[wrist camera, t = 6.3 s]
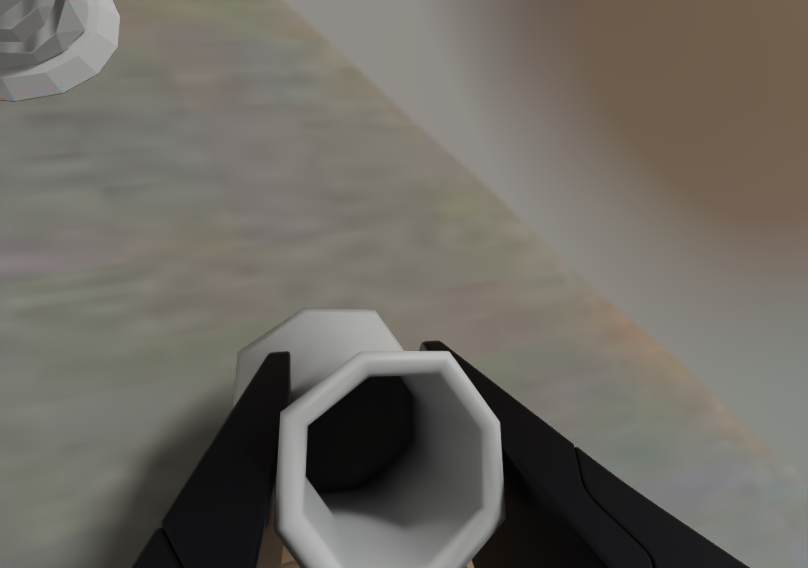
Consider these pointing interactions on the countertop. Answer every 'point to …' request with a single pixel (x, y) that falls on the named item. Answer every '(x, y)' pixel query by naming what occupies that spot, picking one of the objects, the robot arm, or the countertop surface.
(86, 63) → the french press
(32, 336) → the countertop surface
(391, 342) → the flask
